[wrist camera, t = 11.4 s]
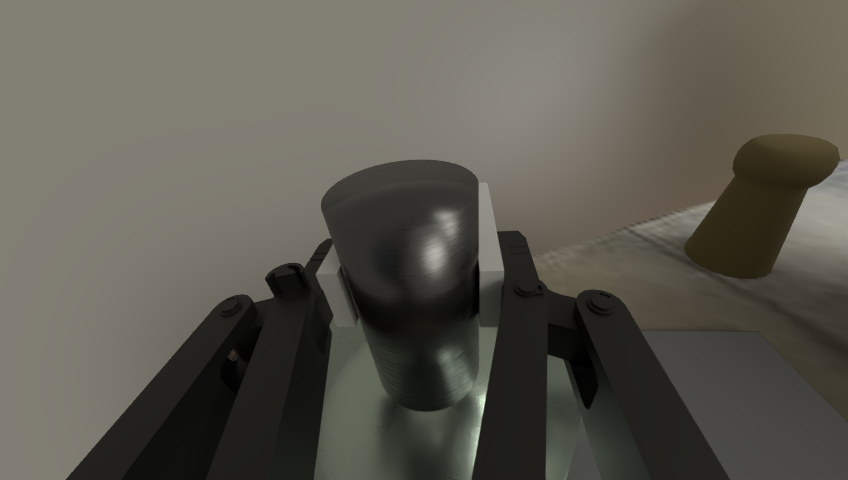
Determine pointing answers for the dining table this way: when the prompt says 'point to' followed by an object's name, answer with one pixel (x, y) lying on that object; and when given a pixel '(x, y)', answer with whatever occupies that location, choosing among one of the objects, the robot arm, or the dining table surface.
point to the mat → (745, 408)
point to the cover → (416, 332)
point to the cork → (760, 203)
